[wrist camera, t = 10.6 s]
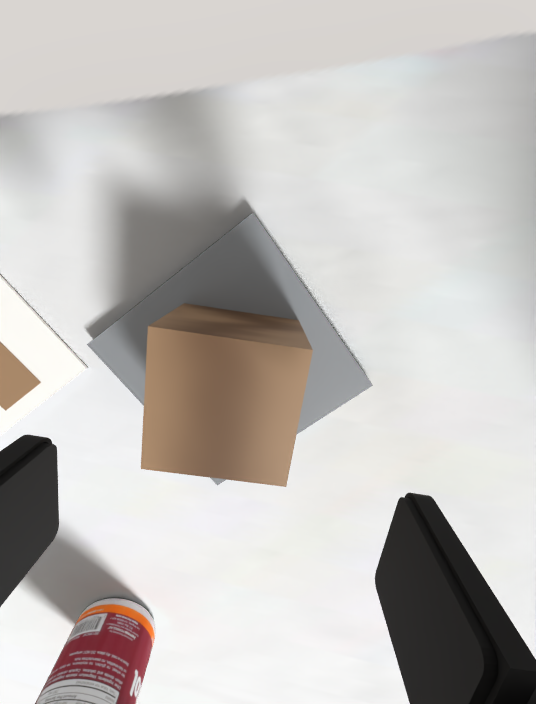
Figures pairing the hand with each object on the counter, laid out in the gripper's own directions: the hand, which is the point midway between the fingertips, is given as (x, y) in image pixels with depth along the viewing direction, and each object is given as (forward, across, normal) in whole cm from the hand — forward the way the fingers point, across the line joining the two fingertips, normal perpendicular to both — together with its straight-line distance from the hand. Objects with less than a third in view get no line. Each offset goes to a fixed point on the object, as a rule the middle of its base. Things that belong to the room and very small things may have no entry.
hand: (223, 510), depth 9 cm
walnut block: (+11, +1, 0) cm, 11 cm away
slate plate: (+12, +1, 0) cm, 12 cm away
